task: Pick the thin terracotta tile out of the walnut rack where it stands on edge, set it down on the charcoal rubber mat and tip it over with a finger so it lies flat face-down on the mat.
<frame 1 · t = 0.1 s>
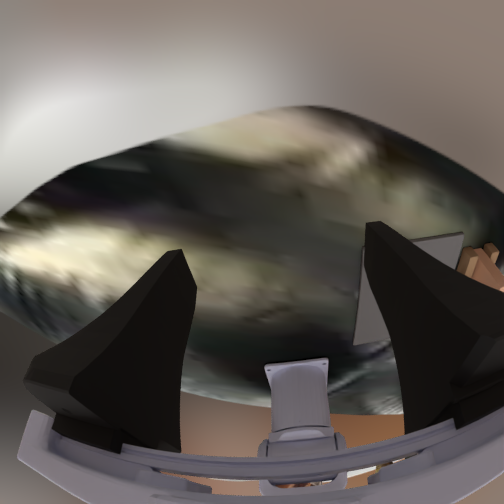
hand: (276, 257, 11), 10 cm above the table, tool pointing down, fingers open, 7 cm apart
mat: (406, 294, 26), on the table
ceramic cup: (385, 457, 89), on the table
rack: (466, 280, 25), on the table
tile: (465, 280, 25), on the table
cake mix box: (298, 474, 100), on the table
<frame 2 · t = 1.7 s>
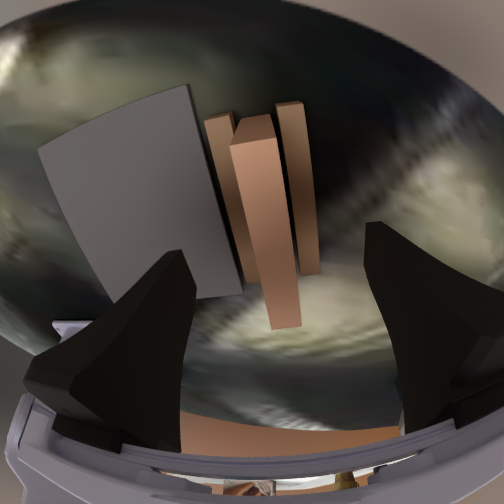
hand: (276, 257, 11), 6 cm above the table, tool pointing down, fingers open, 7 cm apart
mat: (136, 218, 17), on the table
ceramic cup: (346, 470, 80), on the table
rack: (270, 193, 16), on the table
tile: (270, 192, 16), on the table
supplement bottle: (380, 466, 85), on the table
cake mix box: (249, 481, 91), on the table
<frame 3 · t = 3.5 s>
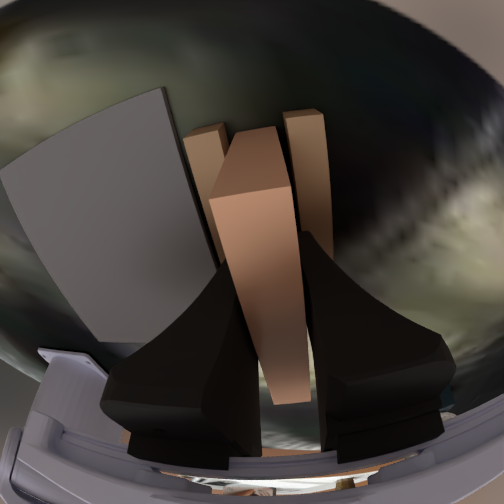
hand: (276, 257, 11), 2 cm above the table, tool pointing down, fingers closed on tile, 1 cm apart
watch: (425, 394, 25), on the table
mat: (112, 255, 13), on the table
ceramic cup: (347, 478, 77), on the table
rack: (274, 229, 12), on the table
tile: (274, 229, 12), on the table, touching gripper
cake mix box: (249, 487, 88), on the table
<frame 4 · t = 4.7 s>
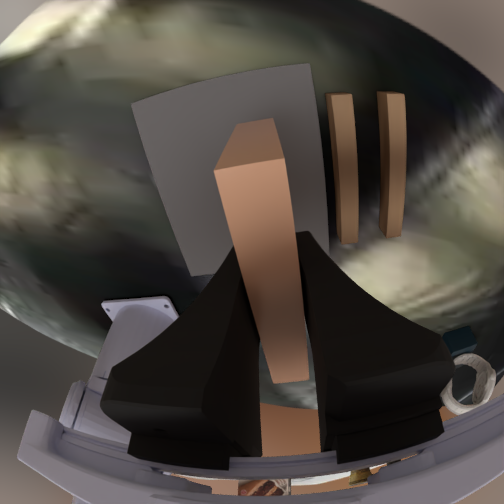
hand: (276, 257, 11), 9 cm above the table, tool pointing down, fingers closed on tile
watch: (450, 340, 29), on the table
mat: (239, 181, 18), on the table
ceramic cup: (361, 461, 81), on the table
rack: (365, 165, 17), on the table
tile: (272, 215, 13), point 6 cm above the table, touching gripper
supplement bottle: (393, 457, 86), on the table
cake mix box: (264, 475, 92), on the table
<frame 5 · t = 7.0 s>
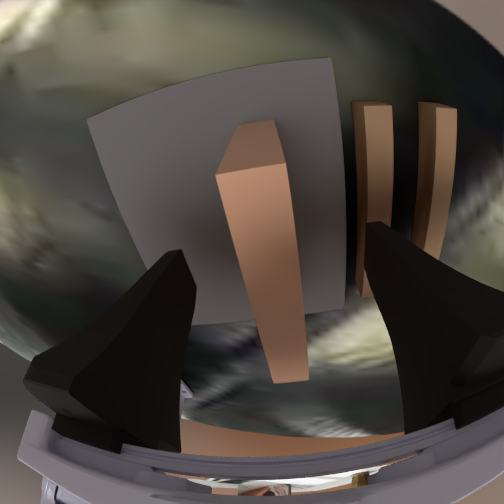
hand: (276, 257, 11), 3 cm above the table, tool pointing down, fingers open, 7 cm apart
mat: (232, 220, 14), on the table
ceramic cup: (362, 472, 77), on the table
rack: (398, 198, 13), on the table
tile: (273, 216, 13), resting on mat
cake mix box: (264, 485, 88), on the table
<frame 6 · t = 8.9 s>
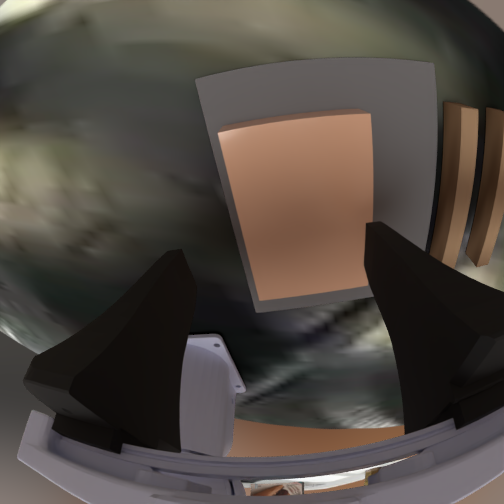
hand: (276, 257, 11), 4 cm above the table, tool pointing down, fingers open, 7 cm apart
mat: (338, 199, 13), on the table
ceramic cup: (375, 468, 77), on the table
rack: (468, 187, 12), on the table
tile: (367, 205, 12), point 1 cm above the table, tilted 90°, touching mat
cake mix box: (277, 483, 88), on the table
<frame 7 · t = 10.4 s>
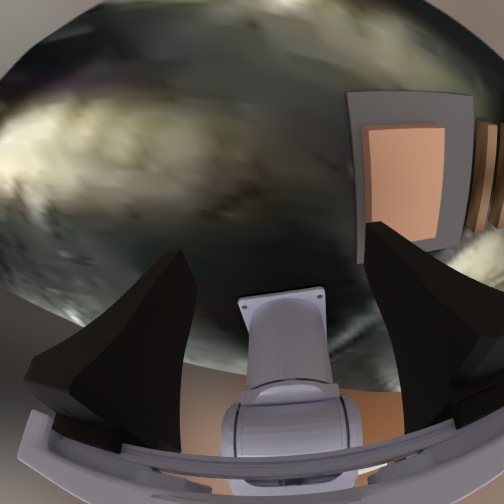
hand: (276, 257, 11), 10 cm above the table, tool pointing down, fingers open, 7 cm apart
mat: (418, 179, 18), on the table
ceramic cup: (397, 451, 81), on the table
rack: (489, 174, 17), on the table
tile: (437, 182, 17), point 1 cm above the table, tilted 90°, touching mat
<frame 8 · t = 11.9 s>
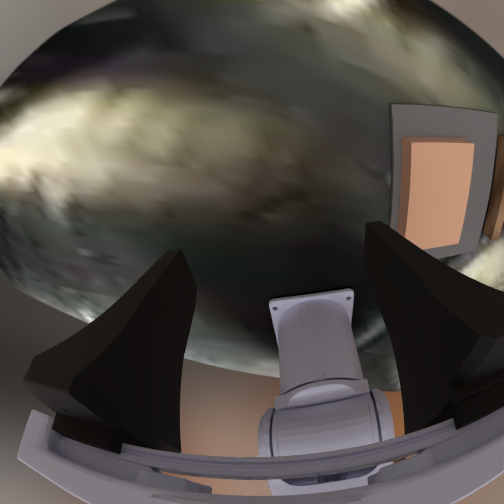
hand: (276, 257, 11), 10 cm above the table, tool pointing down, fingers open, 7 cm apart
mat: (445, 189, 18), on the table
tile: (463, 193, 17), point 1 cm above the table, tilted 90°, touching mat
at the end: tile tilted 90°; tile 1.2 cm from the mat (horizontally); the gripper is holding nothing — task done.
